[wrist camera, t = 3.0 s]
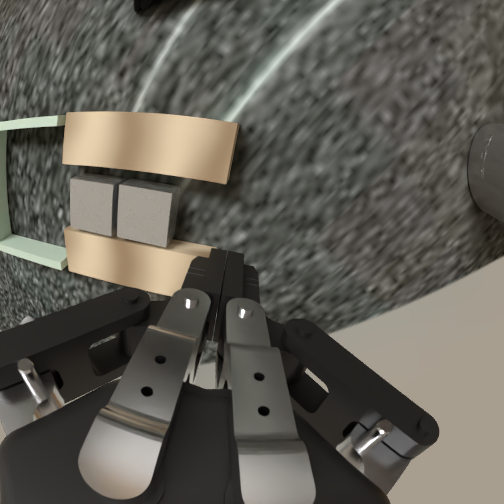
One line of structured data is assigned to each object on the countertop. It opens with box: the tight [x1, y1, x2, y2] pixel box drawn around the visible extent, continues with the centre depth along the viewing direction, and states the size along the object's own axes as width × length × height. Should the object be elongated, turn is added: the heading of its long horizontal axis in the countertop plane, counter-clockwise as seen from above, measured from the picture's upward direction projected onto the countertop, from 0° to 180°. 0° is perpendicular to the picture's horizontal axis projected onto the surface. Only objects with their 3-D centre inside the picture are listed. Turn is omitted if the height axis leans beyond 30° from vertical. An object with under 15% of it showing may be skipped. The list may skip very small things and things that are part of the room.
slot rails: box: [63, 112, 240, 296], centre depth 19 cm, size 13×14×2 cm
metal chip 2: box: [117, 178, 181, 247], centre depth 19 cm, size 4×4×2 cm
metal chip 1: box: [70, 173, 127, 236], centre depth 19 cm, size 4×4×2 cm
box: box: [0, 115, 68, 270], centre depth 18 cm, size 11×13×2 cm
